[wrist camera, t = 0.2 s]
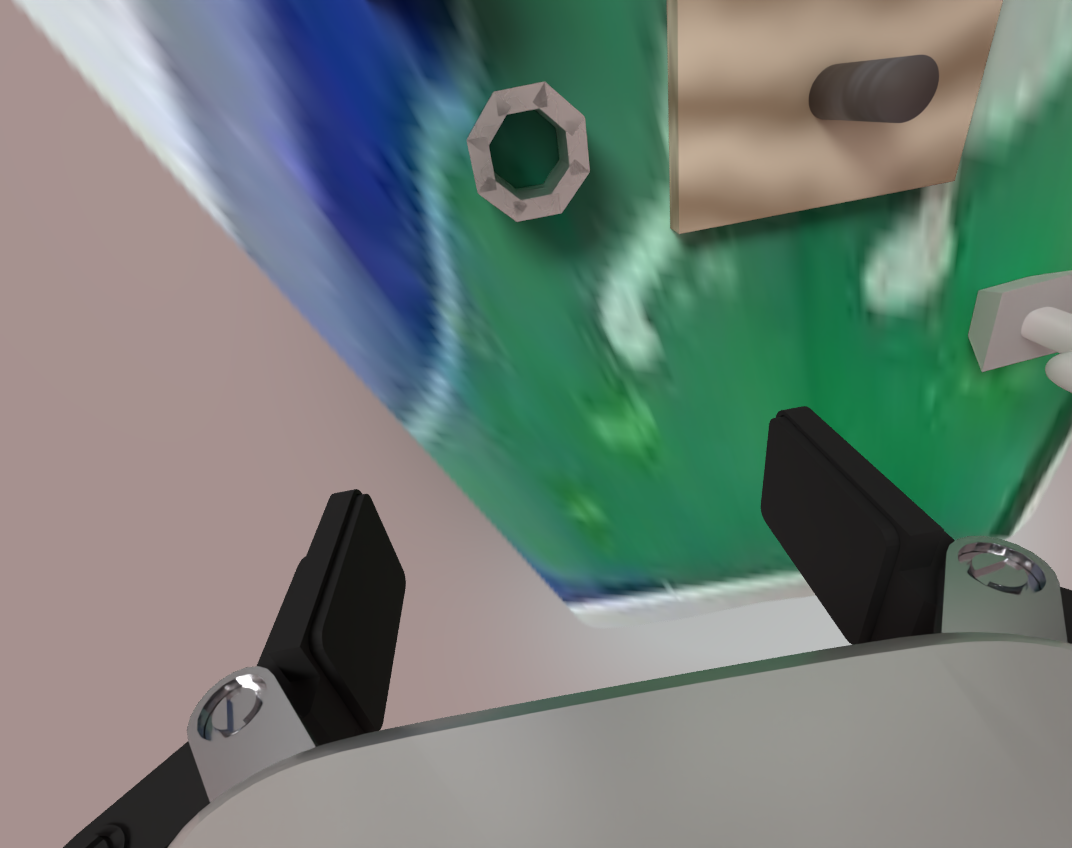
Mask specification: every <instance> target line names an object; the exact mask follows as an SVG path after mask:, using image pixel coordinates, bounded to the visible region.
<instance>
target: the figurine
mask: <svg viewBox="0 0 1072 848" xmlns="http://www.w3.org/2000/svg"><path fill="white" fill-rule="evenodd" d="M968 337H969V340H970V343H971V345H972V348H973V350H974V353H975V356H976V358H977V361H978V363H979V366H980V369H981V371H982V372H984V371H988V370H992V369H995V368H999V367H1003V366H1007V365H1010V364H1014V363H1018V362H1022V361H1026V360H1029V359H1033V358H1037V357H1041V356H1044V355H1048V354H1052V353H1056V352H1058V353H1060V354H1059V355H1056V356H1054V357H1053V358H1051V359H1050V360H1049V361H1048V362H1047V364H1046V367H1045V372H1046V375H1047V377H1048V378H1049V379H1050V380H1051V381H1052V382H1053V383H1055V384H1056V385H1058V386H1059V387H1061V388H1063V389H1065V390H1067V391H1069V392H1071V393H1072V270H1071V271H1064V272H1057V273H1049V274H1042V275H1035V276H1029V277H1026V278H1022V279H1018V280H1015V281H1011V282H1008V283H1004V284H1000V285H997V286H993V287H989V288H986V289H982V290H979V291H978V295H977V299H976V303H975V308H974V312H973V316H972V320H971V325H970V329H969V333H968Z"/></svg>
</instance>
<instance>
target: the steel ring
mask: <svg viewBox="0 0 1072 848" xmlns="http://www.w3.org/2000/svg"><path fill="white" fill-rule="evenodd" d="M533 109H534V110H536V111H537V112H538V113H539V114H540V115H541V116H543V117H544V118H545V119H546V120H547V121H549V122H550V123H551V124H552V125H553V126H554V127H555V129H556V137H557V146H558V154H559V160H558V161H557V163H556V164H555V166H554V167H553V169H552V171H551V172H550V174H549V175H548V177H547V178H546V180H545V181H544V183H543V184H538V185H533V186H528V187H523V188H518V189H516V188H515V187H513V186H512V185H511V184H510V183H508V182H507V181H506V180H504V179H503V178H502V177H500V176H499V175H498V174H496V173H495V172H494V170H493V165H492V159H491V154H490V149H489V144H490V143H491V141H492V139H493V138H494V136H495V134H496V132H497V131H498V129H499V127H500V125H501V124H502V122H503V120H504V119H505V117H506V115H508V114H513V113H518V112H523V111H528V110H533ZM467 144H468V149H469V153H470V158H471V163H472V168H473V172H474V177H475V182H476V187H477V191H478V194H479V195H481V196H482V197H483V198H485V199H486V200H488V201H489V202H490V203H492V204H493V205H494V206H496V207H497V208H498V209H500V210H501V211H503V212H504V213H505V214H507V215H508V216H509V217H511V218H512V219H514V220H515V221H516V222H519V221H524V220H529V219H534V218H539V217H545V216H550V215H555V214H560V213H562V212H563V210H564V209H565V208H566V206H567V205H568V203H569V202H570V200H571V199H572V197H573V196H574V194H575V193H576V191H577V190H578V188H579V187H580V186H581V184H582V183H583V181H584V180H585V178H586V177H587V175H588V174H589V172H590V166H589V156H588V145H587V134H586V124H585V117H584V116H583V115H582V114H581V113H580V112H579V111H578V110H576V109H575V108H574V107H573V106H572V105H571V104H570V103H569V102H567V101H566V100H565V99H564V98H563V97H562V96H561V95H559V94H558V93H557V92H556V91H555V90H554V89H553V88H552V87H550V86H549V85H548V84H547V83H546V82H540V83H535V84H530V85H525V86H520V87H515V88H510V89H505V90H500V91H494V92H493V93H492V95H491V96H490V98H489V100H488V102H487V104H486V105H485V107H484V109H483V111H482V112H481V114H480V116H479V118H478V120H477V121H476V123H475V125H474V127H473V129H472V130H471V132H470V134H469V136H468V138H467Z"/></svg>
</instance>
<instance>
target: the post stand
mask: <svg viewBox="0 0 1072 848" xmlns="http://www.w3.org/2000/svg"><path fill="white" fill-rule="evenodd" d="M1002 2H1003V0H667V44H668V108H669V172H670V228H671V229H672V230H674V231H675V232H677V233H678V234H682V233H687V232H692V231H697V230H702V229H708V228H713V227H718V226H723V225H728V224H734V223H739V222H744V221H749V220H754V219H760V218H765V217H770V216H775V215H780V214H785V213H791V212H796V211H801V210H806V209H811V208H817V207H822V206H827V205H832V204H837V203H843V202H848V201H853V200H858V199H863V198H868V197H874V196H879V195H884V194H889V193H894V192H900V191H905V190H910V189H915V188H920V187H926V186H931V185H936V184H941V183H946V182H952V181H955V177H956V173H957V170H958V166H959V162H960V159H961V155H962V151H963V147H964V144H965V140H966V136H967V133H968V129H969V125H970V121H971V118H972V114H973V110H974V107H975V103H976V99H977V95H978V92H979V88H980V84H981V80H982V77H983V73H984V69H985V66H986V62H987V58H988V54H989V51H990V47H991V43H992V40H993V36H994V32H995V28H996V25H997V21H998V17H999V14H1000V10H1001V6H1002Z"/></svg>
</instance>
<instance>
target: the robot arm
mask: <svg viewBox="0 0 1072 848" xmlns="http://www.w3.org/2000/svg"><path fill="white" fill-rule="evenodd" d="M761 512H762V516H763V518H764V520H765V522H766V523H767V525H768V526H769V528H770V529H771V531H772V532H773V534H774V535H775V537H776V538H777V539H778V541H779V542H780V544H781V545H782V547H783V548H784V550H785V551H786V553H787V554H788V555H789V557H790V558H791V560H792V561H793V563H794V564H795V566H796V567H797V568H798V570H799V571H800V573H801V574H802V576H803V577H804V579H805V580H806V582H807V583H808V584H809V586H810V587H811V589H812V590H813V592H814V593H815V595H816V596H817V597H818V599H819V600H820V602H821V603H822V605H823V606H824V607H825V609H826V610H827V612H828V613H829V615H830V616H831V618H832V619H833V621H834V622H835V624H836V625H837V626H838V628H839V629H840V631H841V632H842V634H843V635H844V636H845V638H846V639H847V640H848V642H849V643H851V644H852V645H849V646H842V647H836V648H830V649H823V650H818V651H812V652H806V653H801V654H795V655H789V656H783V657H778V658H772V659H766V660H761V661H755V662H749V663H743V664H737V665H732V666H726V667H720V668H714V669H709V670H703V671H697V672H691V673H687V674H681V675H675V676H669V677H664V678H658V679H652V680H647V681H641V682H636V683H630V684H624V685H619V686H614V687H608V688H602V689H597V690H592V691H586V692H580V693H575V694H569V695H564V696H558V697H553V698H547V699H542V700H537V701H531V702H526V703H520V704H515V705H509V706H504V707H499V708H493V709H488V710H483V711H477V712H472V713H466V714H461V715H456V716H450V717H445V718H440V719H435V720H430V721H425V722H420V723H415V724H410V725H405V726H400V727H395V728H390V729H385V730H380V729H381V727H382V724H383V719H384V714H385V708H386V702H387V696H388V690H389V684H390V678H391V672H392V665H393V659H394V654H395V647H396V642H397V635H398V629H399V623H400V617H401V611H402V605H403V599H404V593H405V586H406V581H405V574H404V571H403V569H402V566H401V564H400V562H399V560H398V557H397V555H396V553H395V551H394V548H393V546H392V544H391V542H390V540H389V537H388V535H387V533H386V531H385V528H384V526H383V524H382V522H381V520H380V517H379V515H378V513H377V511H376V508H375V506H374V504H373V501H372V499H371V497H370V496H369V495H368V494H362V493H361V492H360V491H359V490H357V489H355V490H350V491H345V492H339V493H334V494H332V495H331V496H330V498H329V501H328V503H327V506H326V508H325V511H324V513H323V516H322V518H321V521H320V523H319V526H318V528H317V530H316V533H315V536H314V538H313V540H312V543H311V546H310V548H309V551H308V553H307V556H306V557H304V558H303V559H302V560H301V562H300V563H299V565H298V567H297V569H296V572H295V574H294V577H293V580H292V582H291V584H290V586H289V589H288V592H287V594H286V596H285V599H284V601H283V604H282V606H281V608H280V611H279V613H278V616H277V618H276V621H275V623H274V625H273V628H272V630H271V633H270V635H269V638H268V640H267V642H266V645H265V648H264V650H263V652H262V654H261V657H260V659H259V662H258V664H257V666H256V667H246V668H244V669H241V670H239V671H235V672H233V673H232V674H230V675H228V676H226V677H225V678H223V679H222V680H220V681H219V682H218V683H217V684H215V686H213V687H212V688H211V689H210V690H209V691H208V692H207V693H206V694H205V695H204V696H203V698H202V699H201V700H200V701H199V702H198V704H197V706H196V707H195V709H194V711H193V713H192V715H191V716H190V720H189V723H188V727H187V735H188V742H187V743H185V744H184V745H183V746H182V747H181V748H180V749H178V750H177V751H176V752H175V753H173V754H172V755H171V756H170V757H169V758H168V759H167V760H165V761H164V762H163V763H162V764H161V765H159V766H158V767H157V768H156V769H155V770H153V771H152V772H151V773H150V774H148V775H147V776H146V777H145V778H144V779H143V780H141V781H140V782H139V783H138V784H137V785H135V786H134V787H133V788H132V789H131V790H129V791H128V792H127V793H126V794H125V795H123V797H121V798H120V799H119V800H117V801H116V802H115V803H114V804H113V805H112V806H110V807H109V808H108V809H107V810H105V811H104V812H103V813H102V814H101V815H100V816H98V817H97V818H96V819H95V820H94V821H92V822H91V823H90V824H89V825H88V826H86V827H85V828H84V829H83V830H82V831H81V832H79V833H78V834H77V835H76V836H75V837H74V838H73V839H72V840H70V841H69V842H68V844H66V845H65V846H64V847H63V848H1072V590H1069V589H1065V588H1062V587H1060V584H1059V581H1058V579H1057V576H1056V574H1055V572H1054V571H1053V570H1052V569H1051V567H1050V566H1049V565H1048V564H1047V563H1046V562H1045V561H1043V560H1042V559H1041V558H1039V557H1038V556H1037V555H1035V554H1034V553H1032V552H1031V551H1029V550H1027V549H1025V548H1023V547H1021V546H1019V545H1017V544H1014V543H1011V542H1008V541H1005V540H1001V539H998V538H992V537H986V536H967V537H964V538H960V539H957V540H954V539H953V538H951V537H950V536H949V535H948V534H947V533H946V532H945V531H944V529H943V528H942V527H941V526H939V525H938V524H937V523H936V522H935V521H934V520H933V519H932V518H931V517H929V516H928V515H927V514H926V513H925V512H924V511H923V510H922V509H921V508H920V507H918V506H917V505H916V504H915V503H914V502H913V501H912V500H911V499H910V498H908V497H907V496H906V495H905V494H904V493H903V492H902V491H901V490H900V489H898V488H897V487H896V486H895V485H894V484H893V483H892V482H891V481H890V480H889V479H887V478H886V477H885V476H884V475H883V474H882V473H881V472H880V471H879V470H877V469H876V468H875V467H874V466H873V465H872V464H871V463H870V462H869V461H868V460H866V459H865V458H864V457H863V456H862V455H861V454H860V453H859V452H858V451H856V450H855V449H854V448H853V447H852V446H851V445H850V444H849V443H848V442H847V441H845V440H844V439H843V438H842V437H841V436H840V435H839V434H838V433H837V432H835V431H834V430H833V429H832V428H831V427H830V426H829V425H828V424H827V423H826V422H824V421H823V420H822V419H821V418H820V417H819V416H818V415H817V414H816V413H814V412H813V411H812V410H811V409H810V408H808V407H806V406H803V407H797V408H792V409H787V410H781V411H779V412H778V413H777V415H776V418H773V419H771V421H770V423H769V432H768V441H767V451H766V461H765V470H764V480H763V489H762V499H761ZM379 730H380V731H379ZM375 731H376V732H375Z"/></svg>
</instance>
